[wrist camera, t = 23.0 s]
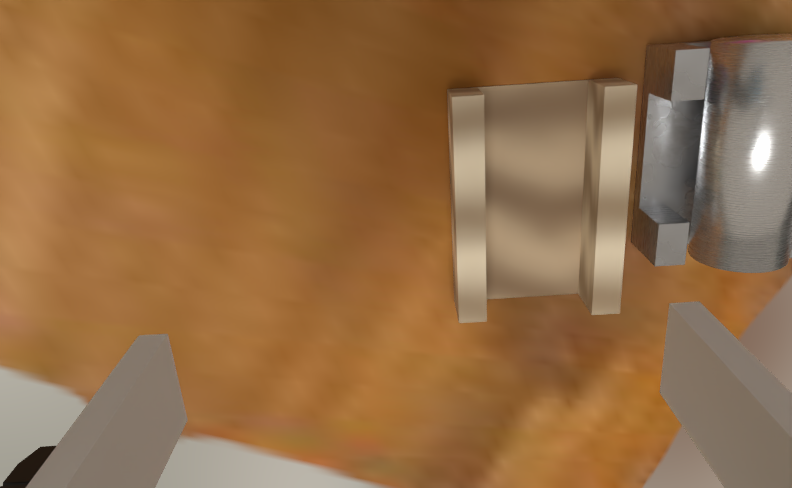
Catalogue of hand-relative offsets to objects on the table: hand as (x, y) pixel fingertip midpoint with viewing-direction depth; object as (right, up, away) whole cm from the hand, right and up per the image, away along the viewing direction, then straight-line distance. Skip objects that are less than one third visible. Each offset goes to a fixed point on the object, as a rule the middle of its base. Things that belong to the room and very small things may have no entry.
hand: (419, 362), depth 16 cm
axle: (+22, +10, +26) cm, 36 cm away
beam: (+9, +7, +28) cm, 30 cm away
